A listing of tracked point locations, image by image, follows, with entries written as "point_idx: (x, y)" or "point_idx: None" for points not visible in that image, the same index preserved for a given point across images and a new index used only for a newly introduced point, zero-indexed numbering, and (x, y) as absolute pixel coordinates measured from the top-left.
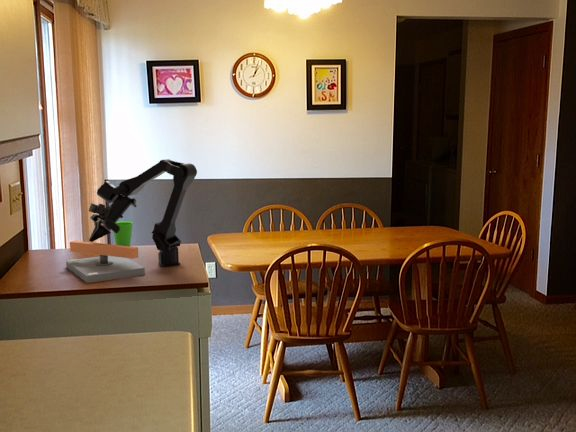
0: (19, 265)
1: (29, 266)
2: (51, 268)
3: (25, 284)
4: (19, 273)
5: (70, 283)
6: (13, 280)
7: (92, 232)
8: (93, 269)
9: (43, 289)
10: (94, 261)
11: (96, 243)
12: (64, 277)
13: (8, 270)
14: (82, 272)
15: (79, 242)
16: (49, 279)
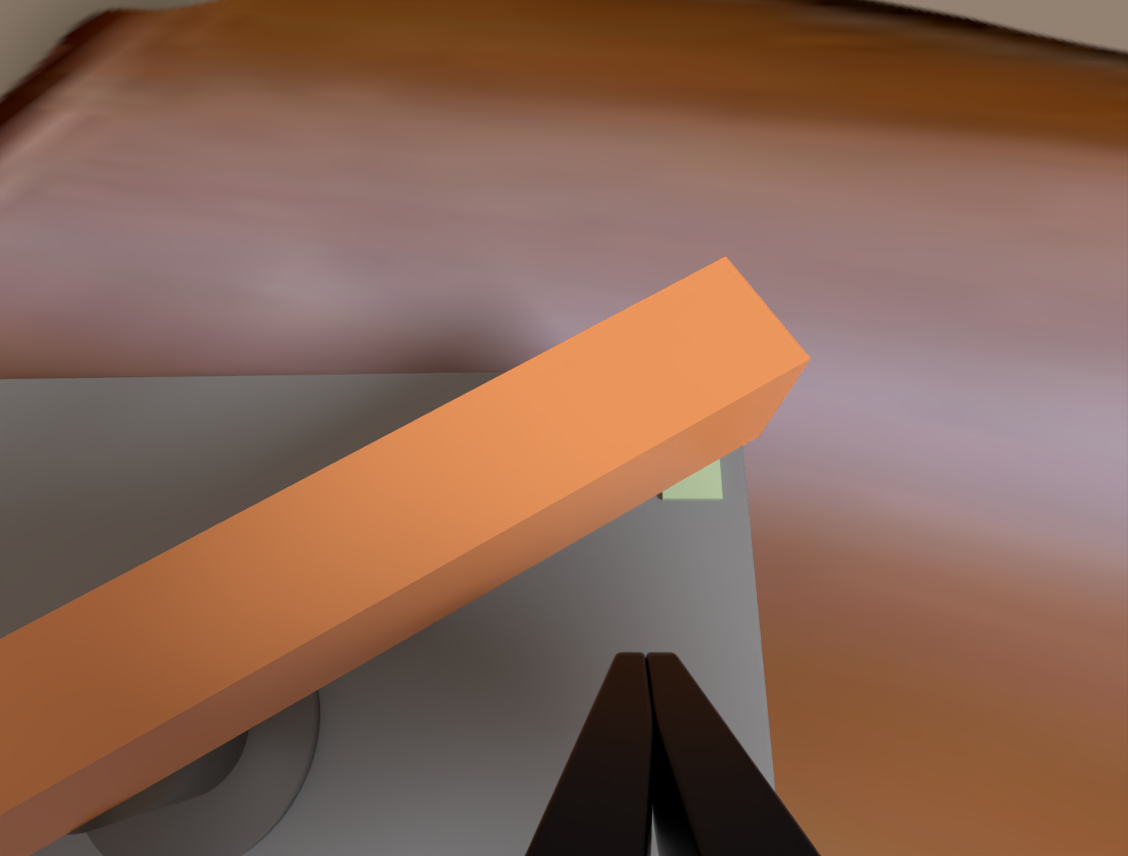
0: (1034, 80)
1: (945, 137)
2: (742, 274)
3: (304, 60)
4: (692, 57)
5: (61, 300)
6: (481, 14)
7: (796, 849)
8: (54, 517)
9: (72, 129)
10: (460, 666)
11: (138, 685)
12: (295, 301)
13: (857, 8)
14: (35, 384)
15: (533, 394)
16: (321, 198)
